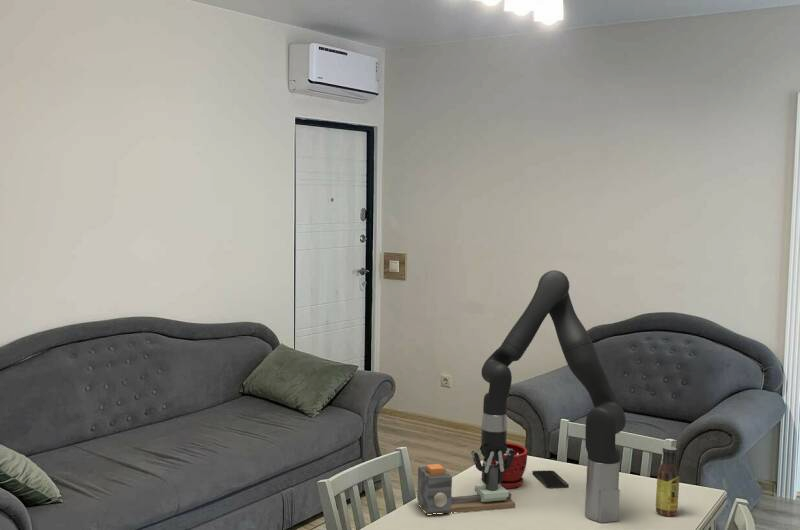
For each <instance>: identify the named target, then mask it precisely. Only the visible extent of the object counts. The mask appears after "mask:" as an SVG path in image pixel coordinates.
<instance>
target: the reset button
mask: <svg viewBox="0 0 800 530" xmlns="http://www.w3.org/2000/svg"><path fill="white" fill-rule="evenodd" d="M425 467H426V472H427V473H428V474H429V475H437V474H444V470H445V468H444V467H443V466H442V465H441V464H440V463H434V464H426V466H425Z"/></svg>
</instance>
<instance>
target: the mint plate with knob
mask: <svg viewBox="0 0 800 530" xmlns="http://www.w3.org/2000/svg"><path fill="white" fill-rule="evenodd" d="M498 472H499V466H498V465H494V464H491V465H490V466H489V470H488V473H489V475H488V485H485V484H483V485H482V484H481V485H475V486H474V492H475V493H476V495H480V496H481V502H489V501H500V500H506V499H507V497H509V493H510V491H508V490H507V488H504V487H502V486H501V485H500V484H498Z"/></svg>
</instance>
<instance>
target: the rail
mask: <svg viewBox="0 0 800 530" xmlns="http://www.w3.org/2000/svg"><path fill="white" fill-rule="evenodd" d="M417 471H418V472H417V505H418V504H419V505H420V506H421V508H422V509H423V510H424V511H425V512H426V513H427V514H433V513H436V514H437V513H451V512H452V513H453V514H455V513H454V512H464V513H469V512H468V511H475V512H482V511H483V510H486V511H493V510H495V509H497V510H506V509H516V502H515V501H514V500H513V499H512V494H511V493H510V492H509V497H507V499H506V500H500V501H489V502H481V496H480V495H477V494H472V495H471V494H470V495H461V496H459V495H457V496H452V493H453V492H452V491H453V490H452V487H453V480H452V479H453V476H452V475H451V474H450V473H449V472H448V471H447V470H446V469H444V474H437V475H429V474H428V473H427V472H426V466H418V467H417ZM421 508H420V509H421ZM481 510H482V511H481ZM483 512H484V511H483Z"/></svg>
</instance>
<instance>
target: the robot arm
mask: <svg viewBox="0 0 800 530" xmlns="http://www.w3.org/2000/svg"><path fill="white" fill-rule="evenodd" d="M569 291H570V281H569V278H568V277H567V275H566V274H565V273H564V272H562V271H559V270H549V271H547V272H545V273H544V274H542V276H540V278H539V281H538V284H537V287H536V289H535V292H534V294H533V296H532V298H531V300H530V302H529V304H528V305H527V307H526V308H525V310H524V311H523V312H522V314H521V316H520V317H519V318H518V320H517V321H516V322H515V324H514V325H513V327H512V328H511V329H510V331H509V332H508V334H507V335H506V336H505V339H504V340H503V341H502V343H501V345H500V346H499V347H498V348H497V349H496V350H495V351H493V352H492V354H491V355H490V356H489V357H488V358H487V359H486V360H485V362H484V363H483V365H482V368H481V373H480V374H481V377H482V379H483V380H484V381H486V382H487V383H488V384H489V386H488V387H489V388H488V392H486V393H484V397H483V405H482V408H483V409H482V418H481V439H480V440H481V441H480V442H481V444H480V446H479V449H478V450H476V451H475V450H471V456H472V459H473V462H474V466H475V468H476V469H477V470H478V471H479V472H481V481H482V483H483V485H488V475H489V473H488V470H489V466H490V465H491V462H492V461H496V464H497V465H498V466H499V472H498V484H501V482H502V480H503V471H504V470H505V469H509V467H510V465H511V462H512V460H513V457H514V454H515V451H514V450H513V449H511V448H507V446H506V443H507V434H508V433H507V432H508V431H507V429H508V419H507V418H508V417H507V415H508V413H507V412H508V410H507V409H508V397H509V394H510V390H511V386H512V382H513V379H512V371H511V369H510V367H509V366H510V365H511V364H512V363H513V362H517V361H520V359H521V358H522V357H523V356H524V354H525V353H526V351H527V349H528V347H530V344H531V343H532V342H533V339H534V338H535V336H536V335H537V333H538V331H539V329H540V327H541V325H543V322H544V320H545V319H546V317H547V316H548V315H549V316H550V318H551V320H552V323H553V325H554V326H553V327H554V329H555V333H556V336H557V339H558V342H559V346H560V348H561V351H562V353H563V356H564V359H565V361H566V364H567V366H568V368H569V370H570V371H571V373H572V374H573V375H574V376H575V378H576V379H577V380H578V381H579V382H580V384H582V386H583V387H584V388H585V389H586V391H587V393H588V395H589V397H590V400H591V401H592V405H593V408H592V409H590V410H589V411H588V413H587V415H586V418H585V435H584V436H585V442H584V444H585V448H586V452H587V458H586V459H587V460H586V461H587V463H586V464H587V465H586V484H585V485H586V486H585V503H584V505H585V506H584V515H585V516H586V518H587V519H589V520H592V521H595V522H598V523H599V524H600V523H601V524H602V523H611V522H613V523H614V522H619V517H620V516H619V515H620V514H619V511H620V493H621V491H620V489H619V483H620V465H621V464H620V463H621V453H620V450H619V449H618V448H616V435H618V434H620V433H621V432H622V431H623V430H624V429H625V427H626V424H627V423H626V422H627V419H626V414H625V412H624V409H623V407H622V405H621V403H620V402H619V400H618V398H617V396H616V394H615V393H614V390H613V389H612V387H611V385H610V382H609V380H608V378H607V375H606V373H605V370H604V368H603V365H602V363H601V361H600V357H599V355H598V352H597V351H596V347H595V345H594V343H593V341H592V338H591V337H590V335H589V333H588V331H587V329H586V327H584V325H583V323H582V321H581V320H580V319H579V317H578V315H577V313H576V311H575V309H574V306H573V303H572V300H571V297H570V294H569ZM505 453H506V454H505ZM481 455H482V456H483V457H482V462H481V459H480V458H481ZM503 455H506V457H505V460H504V462H503V458H502V457H503Z"/></svg>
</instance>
